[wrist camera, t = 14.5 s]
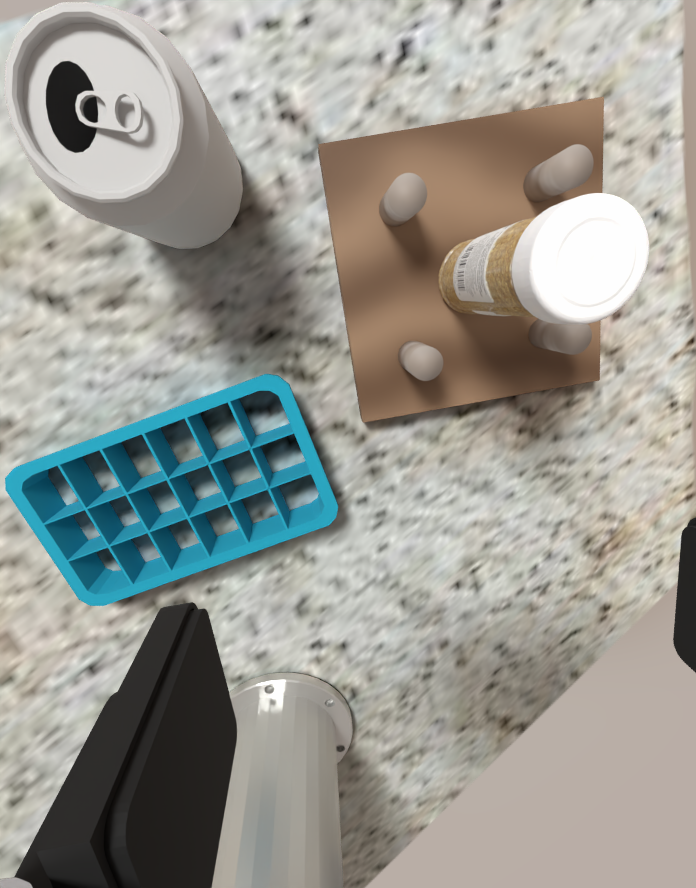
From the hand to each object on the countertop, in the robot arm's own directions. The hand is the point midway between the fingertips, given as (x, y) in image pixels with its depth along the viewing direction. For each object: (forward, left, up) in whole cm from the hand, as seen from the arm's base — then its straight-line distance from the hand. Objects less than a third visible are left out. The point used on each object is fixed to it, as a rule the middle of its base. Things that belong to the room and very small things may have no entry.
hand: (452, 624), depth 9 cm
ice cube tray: (-5, +13, -25) cm, 29 cm away
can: (+14, +8, -25) cm, 30 cm away
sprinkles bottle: (+6, -9, -23) cm, 26 cm away
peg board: (+6, -9, -25) cm, 27 cm away
